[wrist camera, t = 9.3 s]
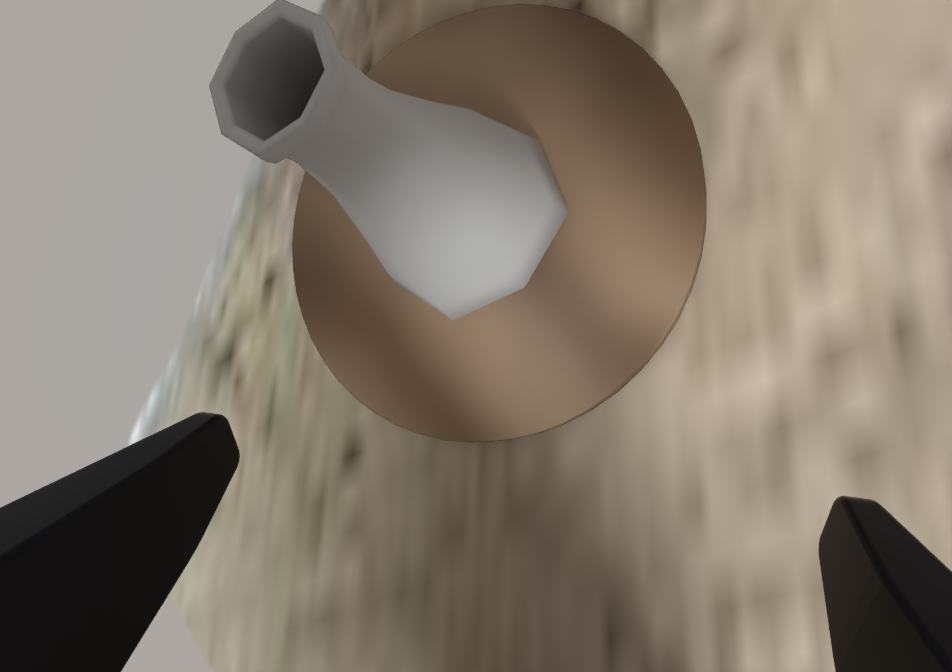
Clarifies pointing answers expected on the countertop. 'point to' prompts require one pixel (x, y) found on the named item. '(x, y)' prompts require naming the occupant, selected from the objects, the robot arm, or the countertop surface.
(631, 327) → the walnut board
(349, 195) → the flask
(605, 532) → the countertop surface
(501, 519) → the countertop surface
